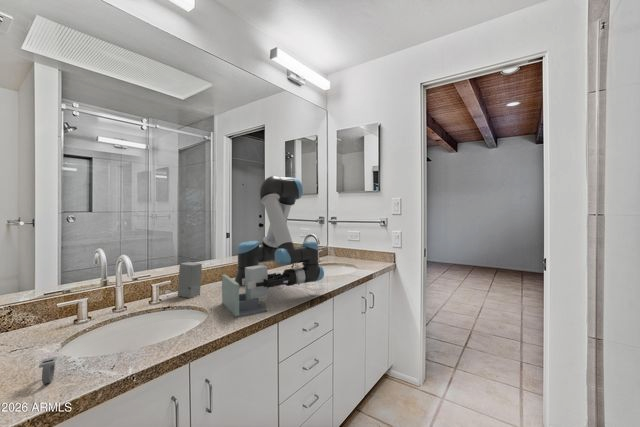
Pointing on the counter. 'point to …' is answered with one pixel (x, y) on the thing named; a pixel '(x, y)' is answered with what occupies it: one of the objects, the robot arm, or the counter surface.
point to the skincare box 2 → (255, 275)
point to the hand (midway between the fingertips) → (245, 283)
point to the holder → (238, 299)
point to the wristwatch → (48, 369)
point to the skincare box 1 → (189, 279)
